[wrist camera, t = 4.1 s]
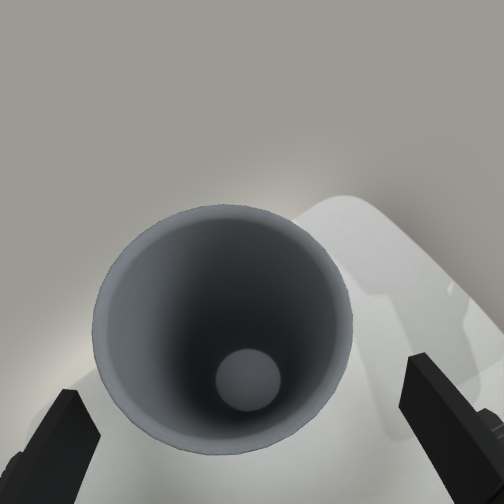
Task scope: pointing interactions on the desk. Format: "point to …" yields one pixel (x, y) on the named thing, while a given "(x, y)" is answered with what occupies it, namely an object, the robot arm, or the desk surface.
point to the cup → (222, 329)
